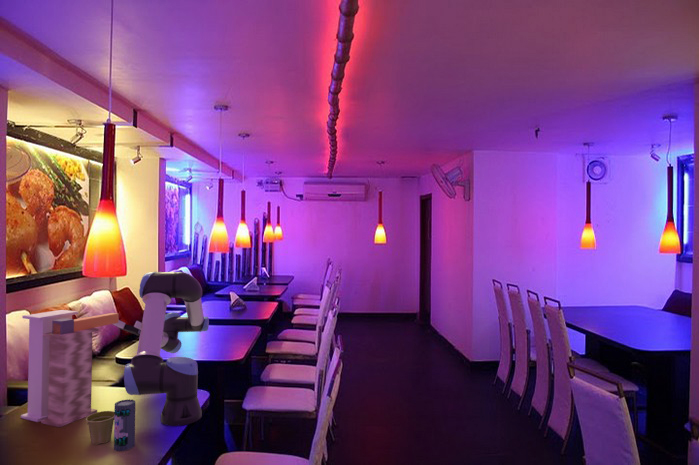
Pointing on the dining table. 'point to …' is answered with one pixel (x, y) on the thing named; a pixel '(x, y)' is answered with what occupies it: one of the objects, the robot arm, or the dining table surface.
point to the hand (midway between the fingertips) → (124, 322)
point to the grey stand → (40, 362)
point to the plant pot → (100, 426)
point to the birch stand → (69, 377)
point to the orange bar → (83, 323)
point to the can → (124, 425)
